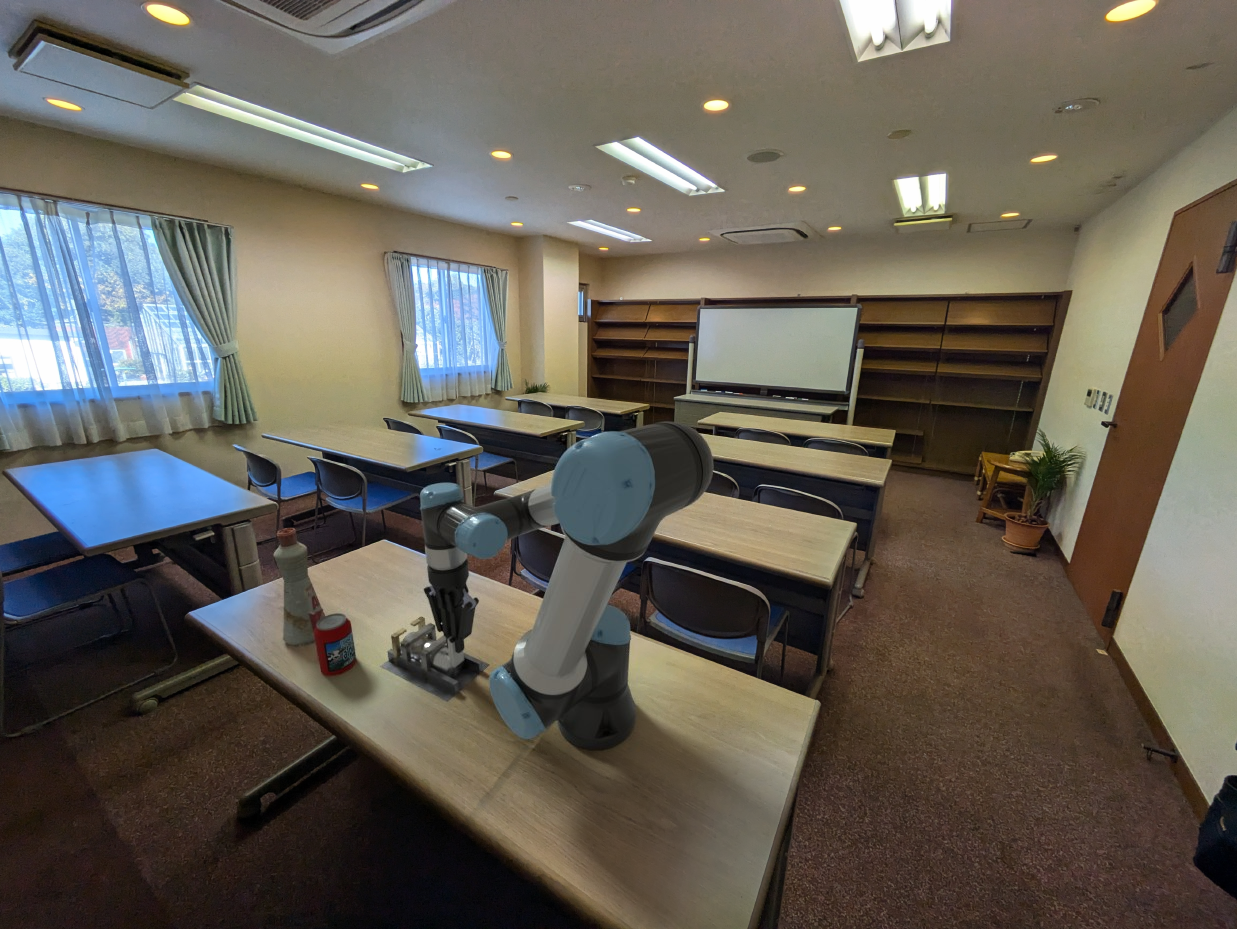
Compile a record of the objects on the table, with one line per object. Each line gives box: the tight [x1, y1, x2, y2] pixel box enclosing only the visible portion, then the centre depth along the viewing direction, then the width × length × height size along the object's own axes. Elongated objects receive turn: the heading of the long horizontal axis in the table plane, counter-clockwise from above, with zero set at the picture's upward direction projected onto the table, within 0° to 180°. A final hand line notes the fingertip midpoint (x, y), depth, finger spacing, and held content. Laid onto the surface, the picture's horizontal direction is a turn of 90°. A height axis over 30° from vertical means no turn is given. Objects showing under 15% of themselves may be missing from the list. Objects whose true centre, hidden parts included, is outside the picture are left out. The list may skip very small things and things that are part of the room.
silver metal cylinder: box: [400, 631, 465, 677], centre depth 101 cm, size 14×5×5 cm, turn 63°
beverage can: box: [314, 612, 357, 677], centre depth 98 cm, size 7×7×12 cm
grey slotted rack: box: [379, 616, 490, 702], centre depth 100 cm, size 20×12×8 cm, turn 63°
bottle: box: [273, 527, 326, 647], centre depth 106 cm, size 9×9×28 cm
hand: (457, 662), depth 97 cm, fingers closed
